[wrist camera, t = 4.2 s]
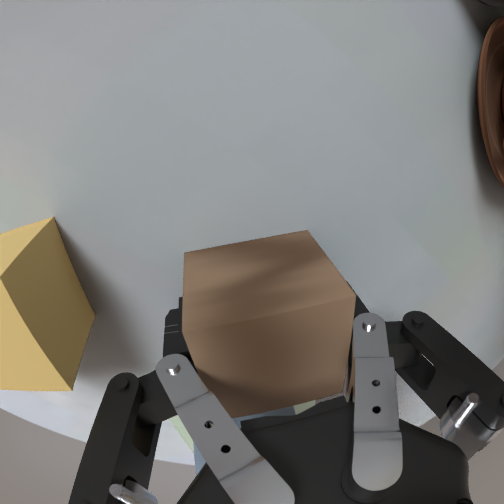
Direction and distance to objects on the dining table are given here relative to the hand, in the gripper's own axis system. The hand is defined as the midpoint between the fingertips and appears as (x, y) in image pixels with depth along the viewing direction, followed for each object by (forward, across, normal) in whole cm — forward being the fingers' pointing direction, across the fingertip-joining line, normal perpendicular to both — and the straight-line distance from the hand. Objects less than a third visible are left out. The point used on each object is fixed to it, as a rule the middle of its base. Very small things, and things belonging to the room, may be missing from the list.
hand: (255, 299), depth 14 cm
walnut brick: (+1, 0, 0) cm, 1 cm away
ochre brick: (+1, +11, -3) cm, 11 cm away
